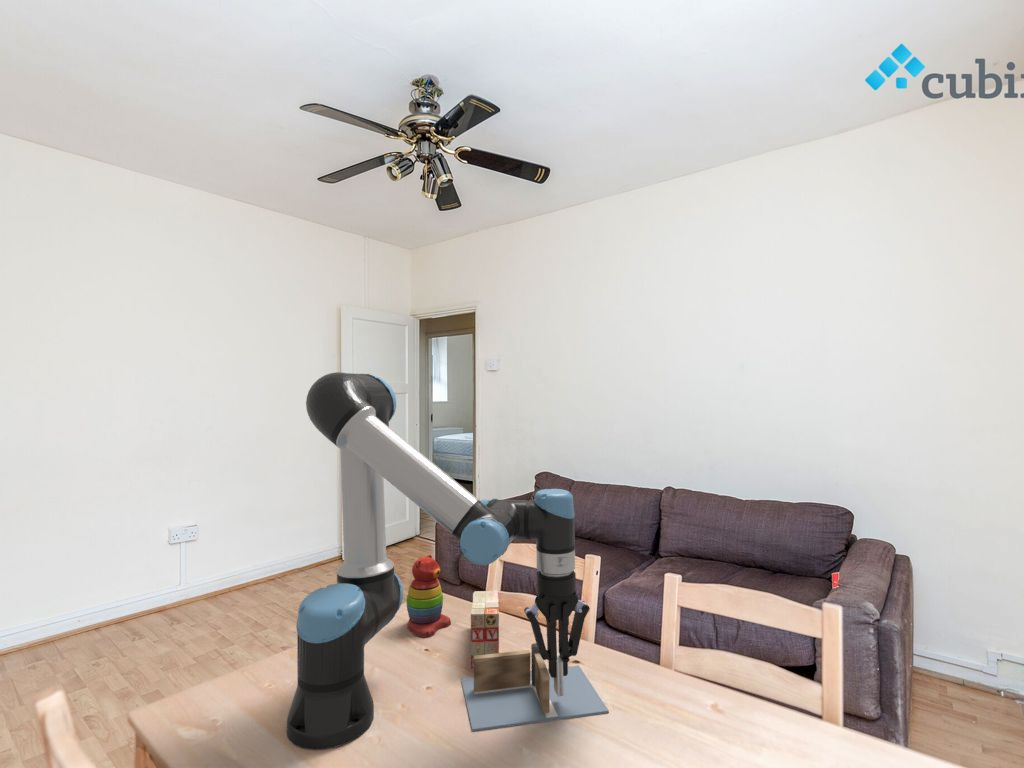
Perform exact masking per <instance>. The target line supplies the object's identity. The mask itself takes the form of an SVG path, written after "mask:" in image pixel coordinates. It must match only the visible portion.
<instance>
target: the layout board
mask: <svg viewBox="0 0 1024 768" xmlns="http://www.w3.org/2000/svg"><path fill="white" fill-rule="evenodd" d="M547 670H548V673H549V668H547ZM549 676H550V680H549V699H550V713H543V711H542V707H541V704H540V701H539V698H538V694H537V691H536V688H535V686H534V685H532V670H530V679H531V685H529V686H521V687H513V688H504V689H496V690H488V691H480V692H474V677H468V678H462V679H461V680H460V682H461V686H462V690H463V695H464V699H465V705H466V708H467V714H468V717H469V718H468V719H469V722H470V723H469V724H470V727H471V732H478V731H479V732H480V731H486V730H491V729H493V730H494V729H499V728H500V729H502V728H508V727H515V726H522V725H523V726H524V725H528V724H536V723H543V722H544V723H545V722H551V721H558V720H565V719H574V718H580V717H588V716H595V715H596V716H597V715H602V714H608V713H610V712H609V711H610V710H609V708H608V707H607V706H606V704H605V703H604V701H603V700H602V698H601V696H600V695H599V694H598V692H597V691H596V688H594V686H593V685H592V683H591V681H590V680H589V678H588V677H587V675H586V674H585V672H584V671H583V669H582V668H581V667H580V665H571V666H568V674H567V676H563V687H564V696H559V697H558V696H557V694H556V692H555V690H554V678H552V677H551V675H550V673H549Z"/></svg>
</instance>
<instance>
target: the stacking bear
mask: <svg viewBox="0 0 1024 768" xmlns="http://www.w3.org/2000/svg"><path fill="white" fill-rule="evenodd" d="M411 572H412V577H413V579H412V581H411V582H410V585H409V587H408V591H407V595H406V611H407V614H408V618H409V619H408V620H407V624H406V625H407V629H408V631H409V632H410V633H411V634H413V635H415V636H418V637H420V638H430V637H432V636H435V633H436V632H437V630H440V629H443V628H446V627H449V626H450V625H451V623H452V621H451V618H450V617H449V616H448V615H446V614H445V615H444V614H442V611H443V606H444V605H443V604H444V596H443V595H444V594H443V592H442V587H441V583H440V580H439V579H438V577H439V576H440V573H441V567H440V565H439V564H438V562H437V561H436V560H435V559H434V558H433V556H432V555H431V554H428V555H427V556H423V557H420V558H418V559H416V560H415V561H414V563H413V564H412V568H411Z"/></svg>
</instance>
